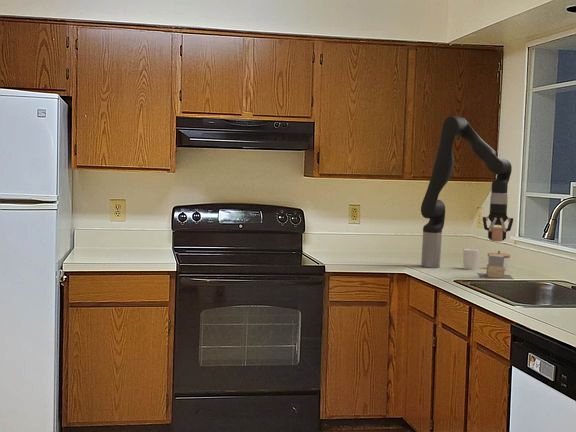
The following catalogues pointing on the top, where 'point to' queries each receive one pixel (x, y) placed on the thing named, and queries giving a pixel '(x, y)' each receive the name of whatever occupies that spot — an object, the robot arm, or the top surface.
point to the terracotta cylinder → (497, 234)
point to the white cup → (471, 259)
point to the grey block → (496, 260)
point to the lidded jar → (506, 258)
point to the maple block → (495, 271)
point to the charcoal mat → (483, 275)
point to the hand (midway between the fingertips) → (496, 239)
